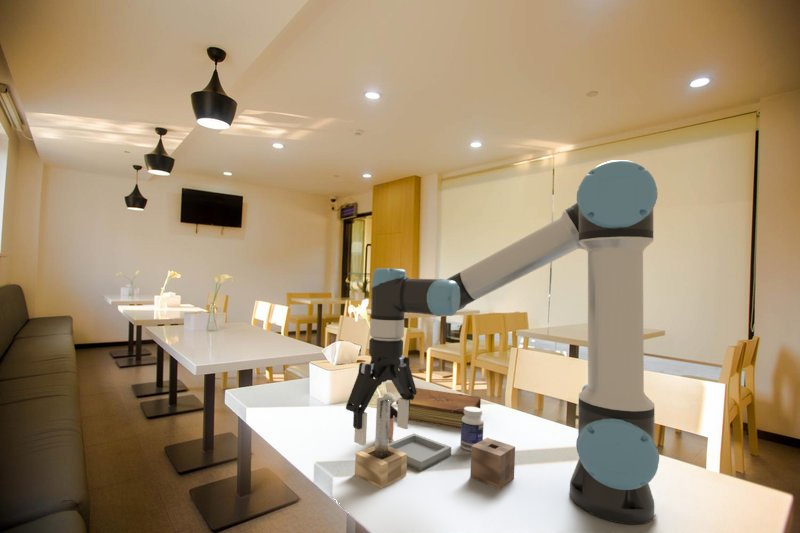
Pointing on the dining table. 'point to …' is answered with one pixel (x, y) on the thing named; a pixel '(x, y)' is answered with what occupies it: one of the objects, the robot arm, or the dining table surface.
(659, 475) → the dining table surface
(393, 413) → the grandmother figurine
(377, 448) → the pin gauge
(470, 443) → the pill bottle
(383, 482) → the oak block
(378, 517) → the dining table surface
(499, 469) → the walnut block
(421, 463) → the tray
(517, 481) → the dining table surface
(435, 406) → the diary
